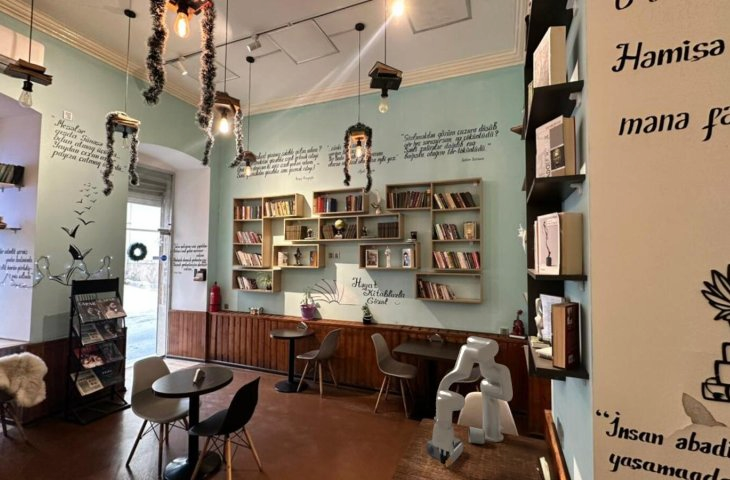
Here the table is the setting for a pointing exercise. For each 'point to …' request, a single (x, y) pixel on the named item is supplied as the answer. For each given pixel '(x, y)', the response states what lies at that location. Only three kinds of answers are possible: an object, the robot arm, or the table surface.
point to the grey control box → (434, 451)
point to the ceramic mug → (476, 435)
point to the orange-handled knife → (455, 454)
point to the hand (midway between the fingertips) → (443, 462)
